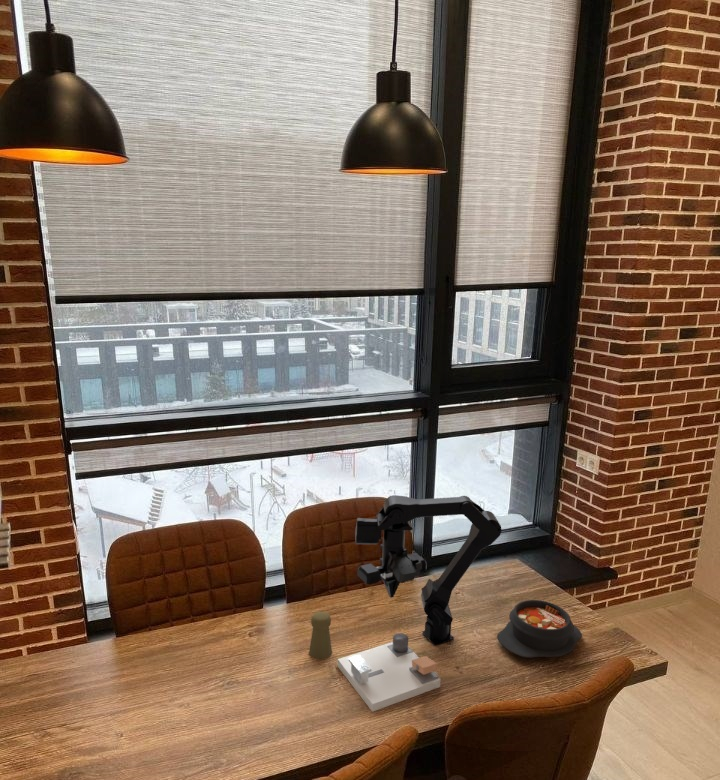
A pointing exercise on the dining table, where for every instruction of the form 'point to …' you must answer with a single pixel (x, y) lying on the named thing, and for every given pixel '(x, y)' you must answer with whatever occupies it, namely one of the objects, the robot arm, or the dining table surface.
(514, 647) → the casserole
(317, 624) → the olive pawn
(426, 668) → the peach slab
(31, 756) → the dining table surface
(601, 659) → the dining table surface
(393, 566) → the robot arm
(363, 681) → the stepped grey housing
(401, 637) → the button
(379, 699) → the panel
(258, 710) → the dining table surface
